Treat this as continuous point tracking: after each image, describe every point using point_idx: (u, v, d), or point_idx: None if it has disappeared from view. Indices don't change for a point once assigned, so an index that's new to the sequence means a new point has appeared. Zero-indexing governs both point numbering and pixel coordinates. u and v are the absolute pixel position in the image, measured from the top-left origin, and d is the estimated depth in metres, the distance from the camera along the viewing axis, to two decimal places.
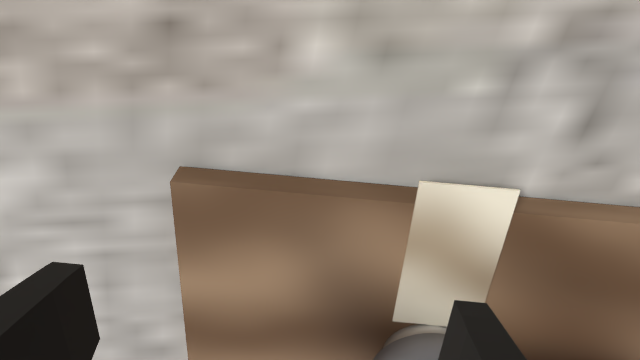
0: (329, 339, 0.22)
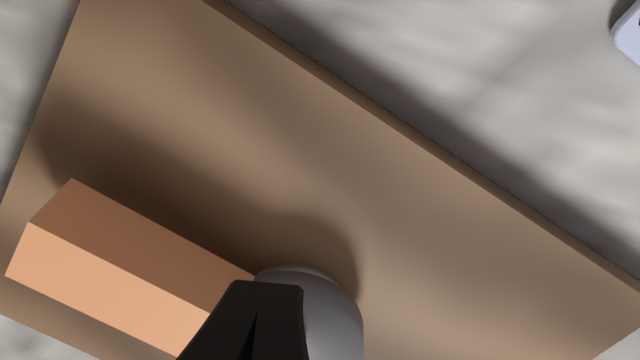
0: (380, 357, 0.20)
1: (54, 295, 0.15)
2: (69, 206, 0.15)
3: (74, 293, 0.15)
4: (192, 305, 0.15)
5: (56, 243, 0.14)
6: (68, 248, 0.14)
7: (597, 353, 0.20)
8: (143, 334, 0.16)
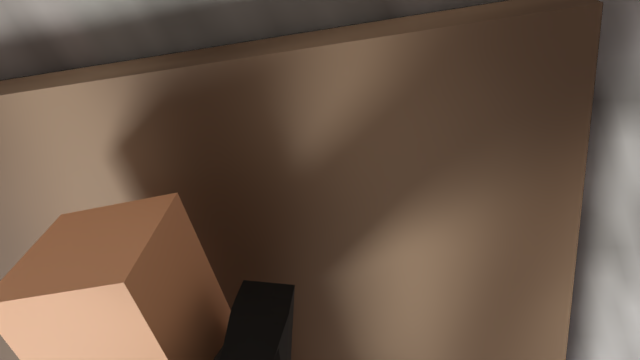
0: None
1: None
2: (167, 256, 0.08)
3: None
4: None
5: (134, 330, 0.07)
6: (147, 345, 0.08)
7: None
8: None
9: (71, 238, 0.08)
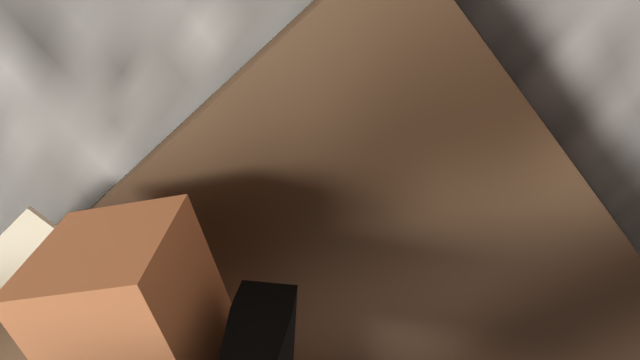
0: None
1: None
2: (177, 257, 0.08)
3: None
4: None
5: (144, 331, 0.07)
6: (156, 348, 0.08)
7: None
8: None
9: (80, 237, 0.08)
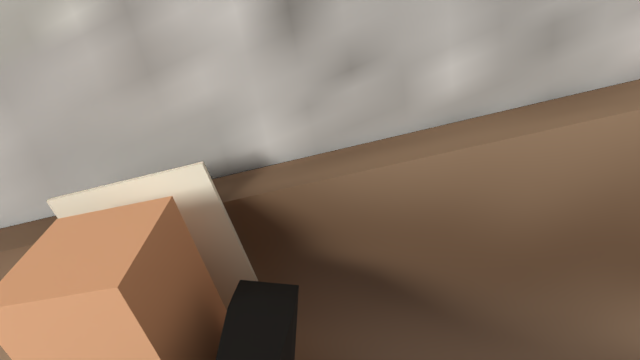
0: None
1: None
2: (162, 259, 0.08)
3: None
4: None
5: (129, 335, 0.07)
6: (142, 350, 0.08)
7: None
8: None
9: (66, 243, 0.08)
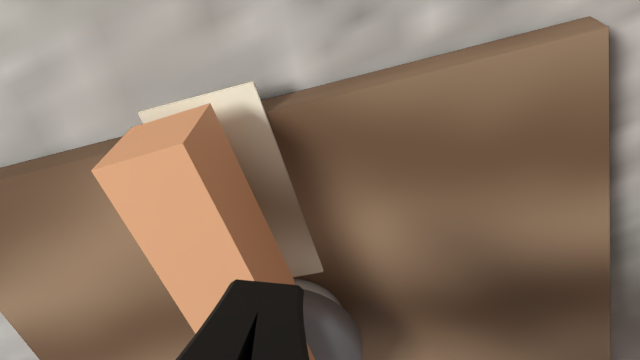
0: (180, 329, 0.19)
1: (129, 220, 0.12)
2: (207, 140, 0.12)
3: (155, 231, 0.12)
4: None
5: (190, 180, 0.11)
6: (198, 191, 0.12)
7: None
8: (186, 302, 0.14)
9: (142, 135, 0.13)
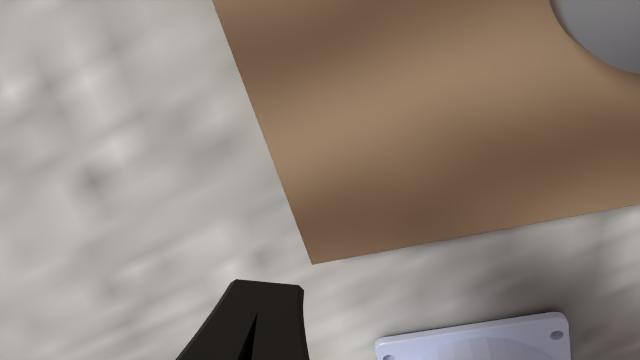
0: None
1: None
2: None
3: None
4: None
5: None
6: None
7: (290, 197, 0.17)
8: None
9: None
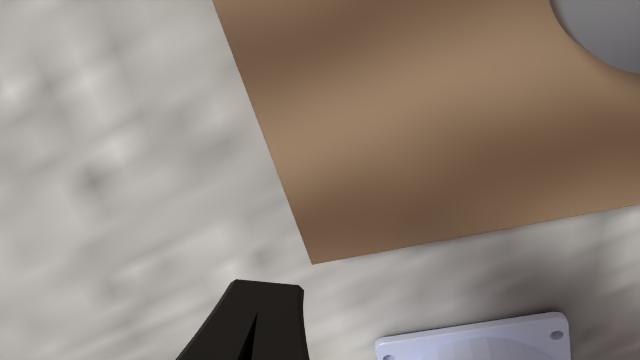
0: None
1: None
2: None
3: None
4: None
5: None
6: None
7: (290, 197, 0.17)
8: None
9: None
